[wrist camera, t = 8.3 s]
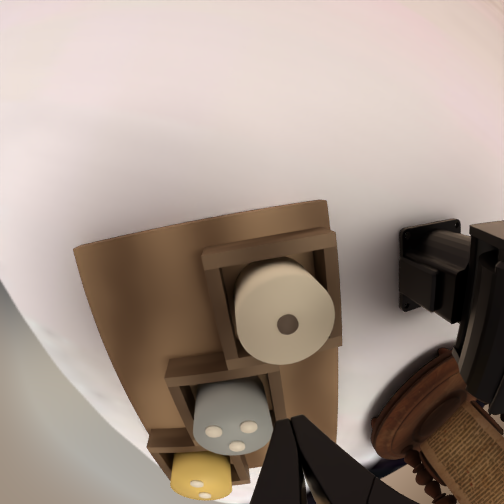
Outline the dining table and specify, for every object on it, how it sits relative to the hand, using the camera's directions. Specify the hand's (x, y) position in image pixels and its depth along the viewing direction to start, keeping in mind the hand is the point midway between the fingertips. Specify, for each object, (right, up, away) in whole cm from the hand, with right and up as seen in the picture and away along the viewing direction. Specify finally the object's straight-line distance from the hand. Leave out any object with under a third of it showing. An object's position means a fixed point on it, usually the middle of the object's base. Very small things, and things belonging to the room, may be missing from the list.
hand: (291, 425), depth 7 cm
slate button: (-3, -5, +11) cm, 12 cm away
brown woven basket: (+17, -11, +16) cm, 26 cm away
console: (-3, -4, +12) cm, 13 cm away
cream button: (0, +3, +10) cm, 10 cm away
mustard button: (-5, -12, +12) cm, 18 cm away
